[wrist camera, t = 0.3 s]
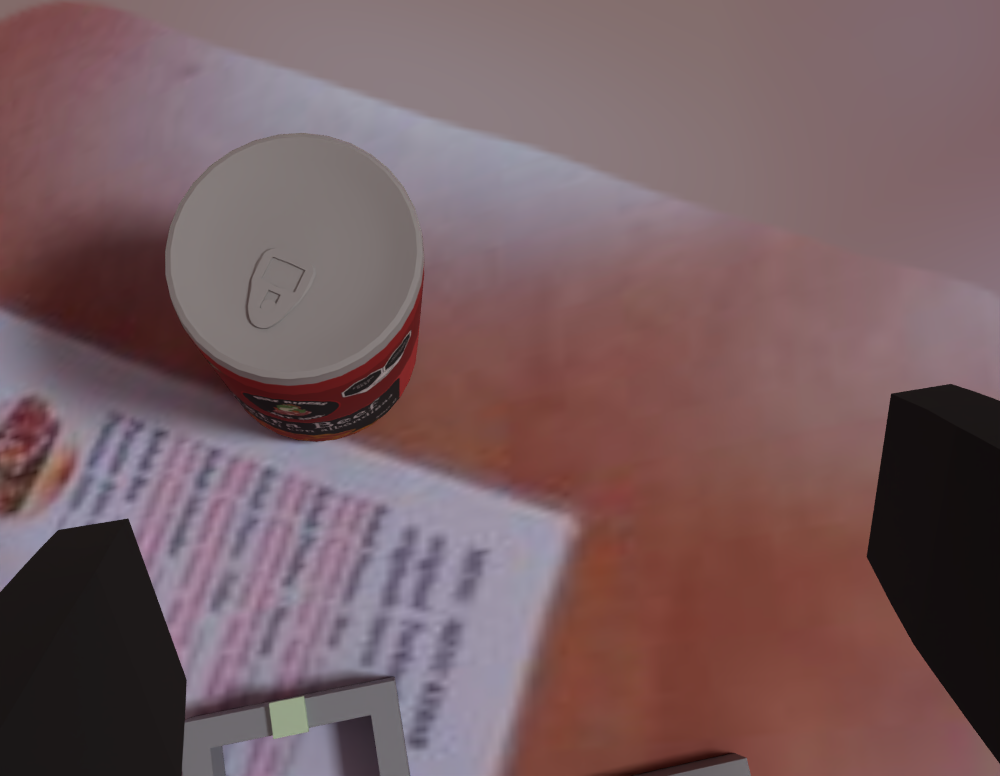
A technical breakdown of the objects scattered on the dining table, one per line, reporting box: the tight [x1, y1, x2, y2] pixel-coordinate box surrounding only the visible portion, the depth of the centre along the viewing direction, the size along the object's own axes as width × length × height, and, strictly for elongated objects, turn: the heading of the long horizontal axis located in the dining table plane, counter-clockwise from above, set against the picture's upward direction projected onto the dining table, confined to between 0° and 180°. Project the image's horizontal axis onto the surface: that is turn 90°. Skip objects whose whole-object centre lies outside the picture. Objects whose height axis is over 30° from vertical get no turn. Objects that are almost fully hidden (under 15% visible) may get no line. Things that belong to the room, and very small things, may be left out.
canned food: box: [165, 133, 424, 442], centre depth 34 cm, size 8×8×11 cm
